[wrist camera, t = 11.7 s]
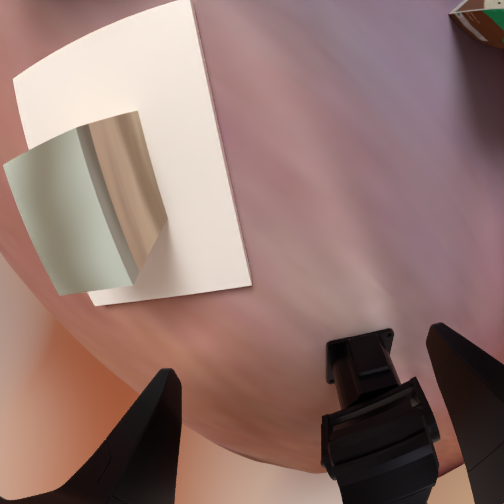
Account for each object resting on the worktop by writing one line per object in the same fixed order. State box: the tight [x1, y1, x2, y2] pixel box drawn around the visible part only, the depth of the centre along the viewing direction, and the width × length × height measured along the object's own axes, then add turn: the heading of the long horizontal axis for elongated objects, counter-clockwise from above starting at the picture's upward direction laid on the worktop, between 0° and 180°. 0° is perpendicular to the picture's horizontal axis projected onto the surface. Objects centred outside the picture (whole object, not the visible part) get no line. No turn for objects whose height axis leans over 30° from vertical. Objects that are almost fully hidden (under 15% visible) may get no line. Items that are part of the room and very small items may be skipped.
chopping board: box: [13, 0, 252, 306], centre depth 17 cm, size 19×13×1 cm
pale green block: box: [3, 110, 168, 295], centre depth 14 cm, size 4×7×7 cm, turn 10°
